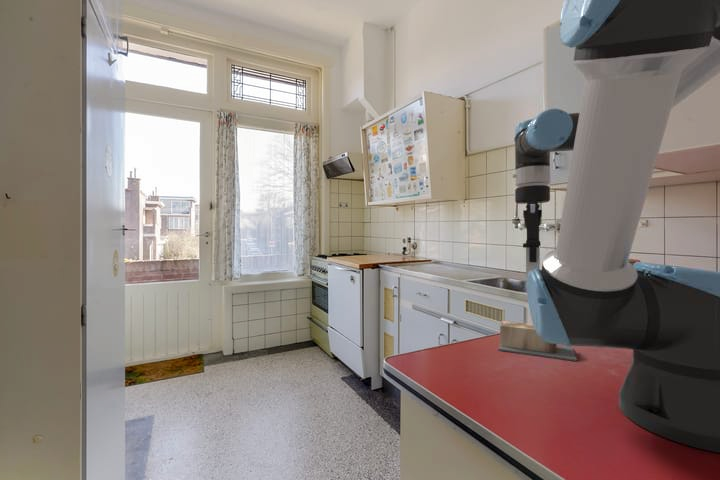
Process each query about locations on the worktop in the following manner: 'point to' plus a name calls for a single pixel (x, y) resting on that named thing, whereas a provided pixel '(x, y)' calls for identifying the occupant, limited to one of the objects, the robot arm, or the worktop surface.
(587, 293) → the robot arm
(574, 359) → the mat
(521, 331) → the block
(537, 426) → the worktop surface
